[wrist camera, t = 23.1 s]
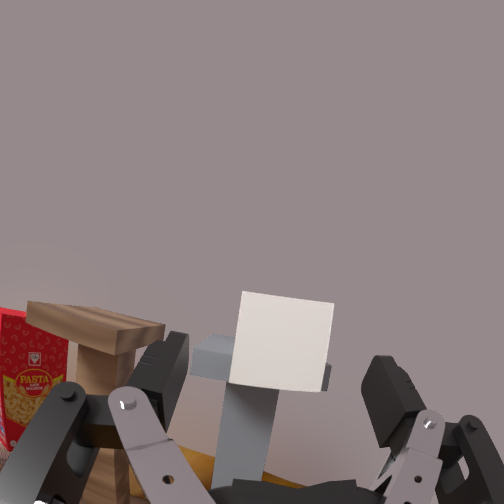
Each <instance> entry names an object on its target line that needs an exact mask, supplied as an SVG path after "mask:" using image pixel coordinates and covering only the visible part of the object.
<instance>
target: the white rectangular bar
mask: <svg viewBox="0 0 504 504" xmlns="http://www.w3.org/2000/svg"><path fill="white" fill-rule="evenodd" d="M333 309H334V303H326V302H318V301H310V300H303V299H294V298H288V297H280V296H273V295H266V294H259V293H253V292H246V291H243V292H242V298H241V305H240V312H239V318H238V325H237V331H236V337H235V344H234V351H233V357H232V364H231V370H230V377H229V383H234V384H241V385H248V386H255V387H264V388H273V389H283V390H294V391H308V392H321V386H322V381H323V376H324V370H325V364H326V358H327V352H328V345H329V338H330V332H331V324H332V317H333Z"/></svg>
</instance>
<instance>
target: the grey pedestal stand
mask: <svg viewBox="0 0 504 504" xmlns="http://www.w3.org/2000/svg"><path fill="white" fill-rule="evenodd" d="M234 344H235V337H230V336H224V335H217V334H213V335H212V336H210V337H209V338H208V339H206V340H204V341H203V342H201V343H200V344H199V345H197V346H196V347H194V348H193V354H192V362H191V369H190V375H195V376H200V377H206V378H212V379H217V380H223V381H227V382H226V389H225V396H224V402H223V410H222V416H221V423H220V430H219V436H218V443H217V451H216V457H215V464H214V471H213V478H212V485H211V489H213V488H217V487H222V486H231V485H232V482H233V478H234V479H243V480H254V481H261V479H262V474H263V470H264V465H265V460H266V456H267V451H268V446H269V441H270V437H271V432H272V426H273V421H274V416H275V410H276V405H277V400H278V394H279V389H273V388H264V387H255V386H248V385H241V384H234V383H229V377H230V370H231V364H232V357H233V351H234ZM330 372H331V365H330V364H328V363H326V364H325V370H324V376H323V381H322V386H321V391H327V389H328V383H329V378H330Z"/></svg>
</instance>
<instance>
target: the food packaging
mask: <svg viewBox="0 0 504 504" xmlns="http://www.w3.org/2000/svg"><path fill="white" fill-rule="evenodd" d="M26 313H27V312H23V311H18V310H12V309H7V308H1V307H0V441H1V442H2V443H3V445H4V446H5V447H6V449H7V450H8V451H13V449H14V447H15V446H16V444H17V442H18V440H19V439H20V437H21V435H22V434H23V432H24V431H25V429H26V427H27V426H28V424H29V423H30V421H31V419H32V418H33V416H34V415H35V413H36V412H37V410H38V409H39V407H40V406H41V404H42V403H43V401H44V400H45V398H46V397H47V395H48V394H49V392H50V391H51V389H52V388H53V387H54V386H55V385H57V384H59V383H61V382H66V374H67V373H66V372H67V356H68V355H67V354H68V343H69V340H67V339H65V338H62V337H59V336H57V335H54V334H52V333H49V332H47V331H44V330H42V329H40V328H37V327H35V326H33V325H30V324H28V323H26Z"/></svg>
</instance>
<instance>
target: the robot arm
mask: <svg viewBox="0 0 504 504" xmlns="http://www.w3.org/2000/svg"><path fill="white" fill-rule="evenodd" d="M188 361H189V334H185V333H180V332H175V331H170V333H169V335H168V337H167V339H166V341H161V340H156V341H154V342H153V343H152V344H150V345H149V346H148V347H147V349H146V350H145V352H144V355H143V356H142V357H141V359H140V362H138V364H137V366H136V368H135V369H134V371H133V373H132V374H131V376H130V378H129V380H128V381H127V383H126V385H125V386H124V387H120V388H117V389H115V390H114V391H112V392H111V394H110V395H91V394H86V393H85V390H84V389H83V387H82V386H81V385H79V384H77V383H74V382H61V383H59V384H57V385H55V386H54V387H53V388H52V389H51V391H50V392H49V394H48V395H47V397H46V398H45V400H44V401H43V403H42V404H41V406H40V407H39V409H38V410H37V412H36V413H35V415H34V416H33V418H32V419H31V421H30V423H29V424H28V426H27V427H26V429H25V431H24V432H23V434H22V435H21V437H20V439H19V440H18V442H17V444H16V446H15V447H14V449H13V451H12V452H11V454H10V456H9V458H8V459H7V461H6V463H5V465H4V467H3V468H2V470H1V472H0V504H79V503H80V500H81V497H82V494H83V491H84V489H85V486H86V483H87V481H88V478H89V475H90V473H91V470H92V468H93V465H94V462H95V460H96V457H97V455H98V452H99V450H100V448H108V449H123V450H124V452H125V455H126V457H127V459H128V462H129V464H130V466H131V469H132V471H133V473H134V475H135V477H136V479H137V482H138V484H139V486H140V488H141V490H142V492H143V494H144V496H145V498H146V500H147V502H148V504H430V501H431V499H432V496H433V493H434V490H435V492H436V495H437V499H438V502H439V504H504V464H503V462H502V460H501V458H500V456H499V454H498V452H497V450H496V448H495V446H494V444H493V442H492V440H491V438H490V436H489V434H488V432H487V431H486V429H485V427H484V425H483V423H482V422H481V421H480V420H479V419H478V418H477V417H475V416H472V415H465V416H463V417H462V418H461V420H460V421H459V422H458V423H448V422H445V421H444V419H443V417H442V416H441V415H440V414H439V413H437V412H435V411H433V410H427V408H426V406H425V405H424V403H423V401H422V399H421V397H420V395H419V394H418V392H417V390H416V389H415V386H414V384H413V383H412V381H411V379H410V377H409V375H408V374H407V373H406V372H405V371H404V370H403V369H402V368H401V367H398V366H397V364H396V362H395V361H394V359H393V357H392V356H380V355H379V356H377V355H376V356H375V357H374V358H373V359H372V362H371V364H370V366H369V368H368V370H367V373H366V375H365V377H364V379H363V381H362V385H361V393H362V396H363V399H364V402H365V405H366V408H367V410H368V414H369V417H370V419H371V423H372V426H373V429H374V432H375V435H376V438H377V441H378V444H379V447H380V448H384V447H390V449H391V451H390V452H389V453H388V455H387V457H386V459H385V460H384V462H383V465H382V466H381V468H380V470H379V472H378V474H377V476H376V478H375V480H374V481H373V483H372V485H371V486H370V487H369V488H368V489H366V488H361V487H357V485H356V480H355V479H354V480H343V481H329V482H325V483H321V484H317V485H313V486H309V487H305V488H300V489H296V488H291V487H286V486H282V485H278V484H274V483H270V482H266V481H254V480H243V479H234V478H233V482H232V485H231V486H222V487H217V488H213V489H210V490H207V491H206V489H205V488H204V486H203V485H202V483H201V482H200V480H199V479H198V477H197V476H196V474H195V473H194V471H193V470H192V468H191V467H190V465H189V464H188V462H187V460H186V459H185V457H184V456H183V454H182V452H181V451H180V449H179V447H178V446H177V444H176V443H175V441H174V440H173V439H169V438H168V436H167V435H166V433H167V430H168V427H169V424H170V421H171V418H172V415H173V412H174V409H175V407H176V403H177V401H178V398H179V395H180V392H181V389H182V386H183V383H184V380H185V377H186V374H187V370H188ZM463 456H464V458H465V461H466V463H467V466H468V468H469V476H468V478H467V479H466V480H465V479H464V476H463V474H462V471H461V469H460V466H459V463H458V461H459V460H460V459H461V458H462V457H463Z"/></svg>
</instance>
